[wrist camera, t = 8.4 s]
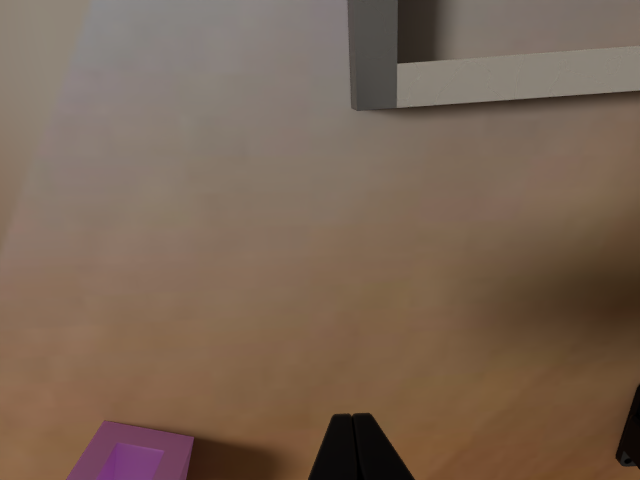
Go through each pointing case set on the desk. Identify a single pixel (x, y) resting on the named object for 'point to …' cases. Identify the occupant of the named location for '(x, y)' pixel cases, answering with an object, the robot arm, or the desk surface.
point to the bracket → (133, 455)
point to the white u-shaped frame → (471, 69)
